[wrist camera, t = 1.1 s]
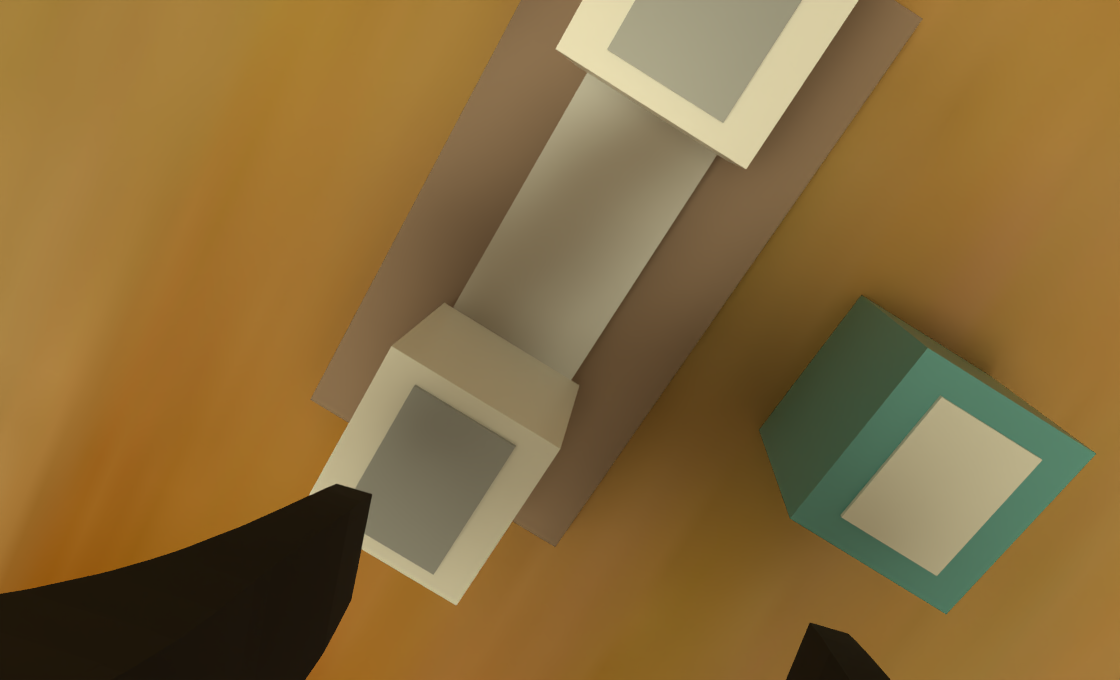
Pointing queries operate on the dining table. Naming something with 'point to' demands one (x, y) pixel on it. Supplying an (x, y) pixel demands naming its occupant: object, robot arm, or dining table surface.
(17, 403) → the dining table surface
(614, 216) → the mounting board
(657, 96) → the block
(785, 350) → the dining table surface
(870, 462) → the block
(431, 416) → the mounted module
